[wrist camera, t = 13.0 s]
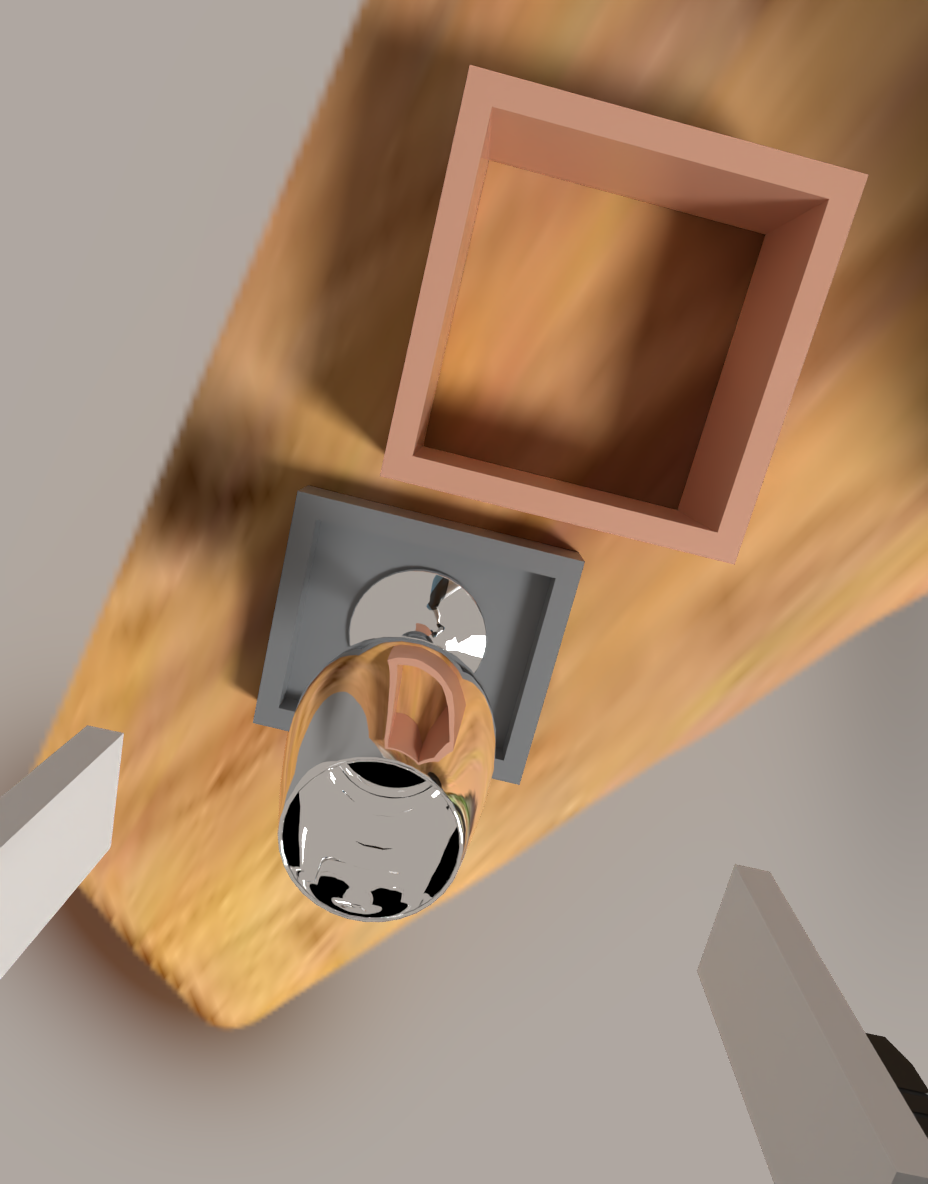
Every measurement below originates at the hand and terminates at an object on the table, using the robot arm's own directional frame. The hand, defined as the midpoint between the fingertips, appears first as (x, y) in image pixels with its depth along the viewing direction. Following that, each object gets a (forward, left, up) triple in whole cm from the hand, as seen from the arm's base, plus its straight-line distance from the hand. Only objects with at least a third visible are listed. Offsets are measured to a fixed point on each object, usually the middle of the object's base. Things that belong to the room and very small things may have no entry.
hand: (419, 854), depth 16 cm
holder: (-4, -13, -27) cm, 30 cm away
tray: (+1, +4, -27) cm, 27 cm away
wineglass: (+1, +4, -26) cm, 26 cm away
